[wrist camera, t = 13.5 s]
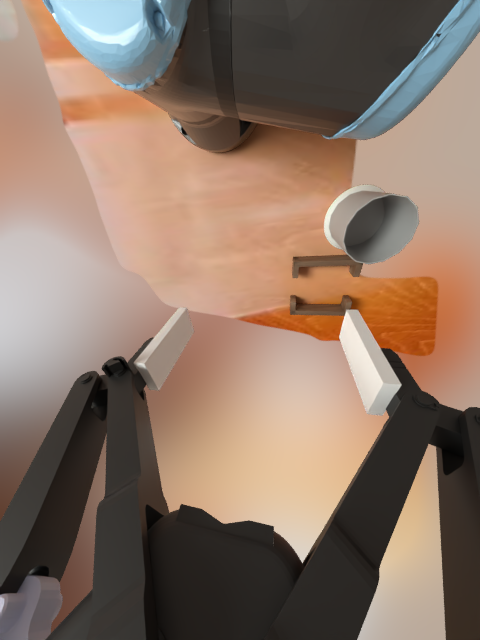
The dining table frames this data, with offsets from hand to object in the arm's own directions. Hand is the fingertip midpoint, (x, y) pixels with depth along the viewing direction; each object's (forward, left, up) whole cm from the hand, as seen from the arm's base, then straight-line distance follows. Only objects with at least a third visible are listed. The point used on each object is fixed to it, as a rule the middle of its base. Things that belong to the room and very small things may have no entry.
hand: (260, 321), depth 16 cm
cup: (-3, +14, -26) cm, 30 cm away
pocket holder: (+9, +10, -27) cm, 30 cm away
